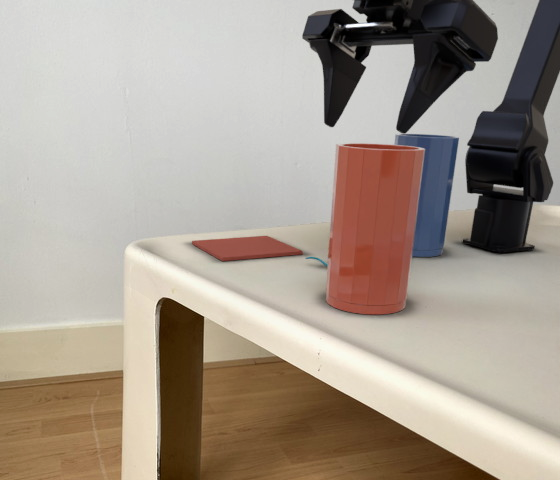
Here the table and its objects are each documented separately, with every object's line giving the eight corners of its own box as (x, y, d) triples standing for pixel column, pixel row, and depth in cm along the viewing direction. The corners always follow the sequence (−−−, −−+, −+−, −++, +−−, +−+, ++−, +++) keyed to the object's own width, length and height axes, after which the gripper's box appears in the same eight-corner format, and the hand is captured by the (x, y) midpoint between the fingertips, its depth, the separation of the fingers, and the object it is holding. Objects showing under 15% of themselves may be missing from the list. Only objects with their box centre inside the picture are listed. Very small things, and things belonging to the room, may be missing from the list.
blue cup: (417, 242, 80) (430, 134, 75) (455, 254, 75) (472, 138, 70) (372, 246, 77) (383, 133, 72) (408, 259, 72) (423, 137, 67)
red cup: (374, 288, 60) (388, 143, 55) (422, 309, 54) (443, 150, 49) (311, 295, 57) (320, 143, 52) (355, 318, 51) (370, 150, 46)
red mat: (266, 238, 79) (267, 235, 79) (302, 254, 72) (302, 250, 72) (191, 244, 75) (191, 240, 74) (222, 261, 67) (222, 257, 67)
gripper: (288, -85, 57) (238, 90, 59) (461, -132, 44) (386, 95, 46) (364, -19, 65) (317, 134, 67) (530, -42, 51) (463, 148, 54)
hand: (362, 128), depth 59 cm, fingers open, 9 cm apart
